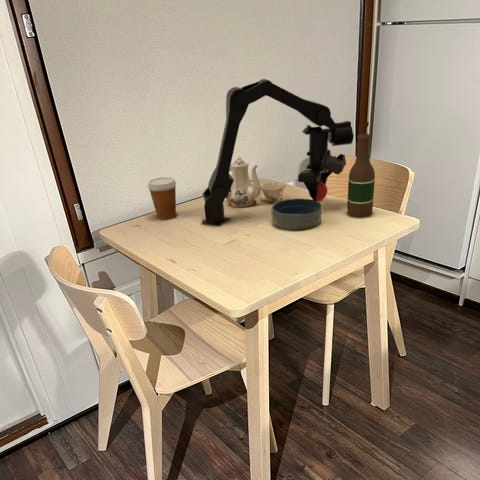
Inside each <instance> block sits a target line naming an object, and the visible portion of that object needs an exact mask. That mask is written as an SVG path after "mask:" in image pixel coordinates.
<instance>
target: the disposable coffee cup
mask: <svg viewBox="0 0 480 480" xmlns="http://www.w3.org/2000/svg"><path fill="white" fill-rule="evenodd" d="M176 187H177V182H176V180H175V178H173V177H168V176H167V177H166V176H165V177H163V176H162V177H157V178H156V177H155V178H153V179H150V180H148V182H147V188H148V190H149V193H150V196H151V200H152V203H153V206H154V209H155V213H156V216H157V219H159V220H170V219H173V218H175V217H176V216H177V202H176V201H177V200H176V198H177V197H176Z"/></svg>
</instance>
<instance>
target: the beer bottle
mask: <svg viewBox="0 0 480 480" xmlns="http://www.w3.org/2000/svg"><path fill="white" fill-rule="evenodd" d="M370 139H371V134H370V133H365V132H364V133H360V134H358V135H357V148H356V149H357V150H356V156H355V162H354V164H353V165H352V166H351V168H350V171H349V173H348V180H347V181H348V183H347V204H346V205H347V207H346V208H347V209H346V210H347V211H346V212H347V214H348V215H349V216H350V217H353V218H367V217H369V216H370V215H372V213H373V207H374V198H375V197H374V195H375V194H374V193H375V181H376V172H375V169H374V167H373V165H372V163H371V158H370V145H371V144H370Z"/></svg>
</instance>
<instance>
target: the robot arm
mask: <svg viewBox="0 0 480 480" xmlns="http://www.w3.org/2000/svg"><path fill="white" fill-rule="evenodd" d="M264 97H268V98H271V99H273V100H275V101H277V102H279V103H281V104H283V105H284V106H287V107H288V108H291V109H293V110H295V111H297V112H298V114H300V115H301V116H302V117H304V118H305V119H307V120H308V121H309V122H311V123H312V124H314V125H316V126H311V125H310V124H307V125H306V126H305V128H304V129H303V130H302V133H303V134H304V135H306V136H307V135H308V138H309V139H308V151H307V152H306V156H307V157H308V164H307V165H306V169H304V170H302V171H301V172H300V173H299V174H298V175H297V181H298V183H303V184H304V186H305V188H306V189H307V191H308V194H309V193H310V195H311V197H312V198H311V197H310V198H311V200H316V197H317V190H318V184H319V183H320V182H323V183H324V184H325V185H326V186H327V182H328V178H329V177H330V175H332V174H334V175H340V174H341V173H343V171H344V169H345V167H346V166H347V160H346V155H345V154H343V153H340V154H339V155H332V154H331V153H332V151H331V150H330V149H329V144H331V146H332V147H338V146H347V145H352V144H353V142H354V130H353V127H352V122H351V121H350V120H344V121H340V122H335V120H334V118H332V112H331V109H330V108H329V107H328V106H327V105H324V104H322V103H320V102H316V101H312V100H309V99H305V98H303V97H300V96H298V95H296V94H294V93H293V92H291V91H288V90H287V89H285V88H283V87H281V86H279V85H277V84H275V83H273V82H272V81H271V80H269V79H266V78H262V79H260V80H258V81H256V82H252V83H250V84H247V85H244V86H242V87H239V86H234V87H232V88H230V89H228V91H227V93H226V97H225V100H226V101H225V123H224V128H223V133H222V137H221V142H220V147H219V152H218V157H217V160H216V161H217V162H216V166H215V168H214V170H213V172H212V173H211V175H210V179H209V180H208V183H207V187H206V188H205V190H204V192H202V198H203V200H204V205H203V207H204V217H205V219H204V220H202V221H201V223H202V224H204V225H212V226H220V225H222V224H224V223H225V222H226V221H228V220H229V216H226V215H225V207H224V206H225V205H224V202H225V199H227V196H228V194H229V192H230V193H231V186H232V184H233V181H234V180H233V178H232V174H230V171H229V170H230V168H231V167H230V165H231V164H232V160H233V156H234V152H235V147H236V142H237V138H238V134H239V129H240V125H241V123H242V121H243V119H244V117H245V115H246V113H247V110H248V107H249V105H251V104H253V103H255V102H257V101H258V100H261V99H262V98H264ZM323 126H324V127H326V128H322V127H323ZM310 195H309V196H310Z"/></svg>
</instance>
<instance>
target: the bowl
mask: <svg viewBox="0 0 480 480" xmlns="http://www.w3.org/2000/svg"><path fill="white" fill-rule="evenodd" d="M322 207H323V206H322V204H321V202H320V201H315V200H313V199H312V198H311V199H310V198H289V199H287V198H286V199H282V200H278V202H275V203H273V204H272V206H271V208H270V211H271V213H270V214H271V222H272V224H273V225H274V226H275V227H277V228H278V229H282V230H288V231H300V230H301V231H302V230H308V229H311V228H314V227H316V226H317V225H319V223H320V222H321V221H322Z"/></svg>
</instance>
